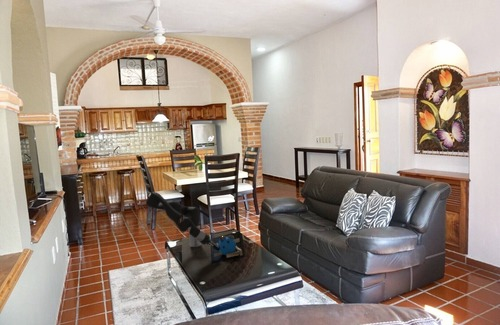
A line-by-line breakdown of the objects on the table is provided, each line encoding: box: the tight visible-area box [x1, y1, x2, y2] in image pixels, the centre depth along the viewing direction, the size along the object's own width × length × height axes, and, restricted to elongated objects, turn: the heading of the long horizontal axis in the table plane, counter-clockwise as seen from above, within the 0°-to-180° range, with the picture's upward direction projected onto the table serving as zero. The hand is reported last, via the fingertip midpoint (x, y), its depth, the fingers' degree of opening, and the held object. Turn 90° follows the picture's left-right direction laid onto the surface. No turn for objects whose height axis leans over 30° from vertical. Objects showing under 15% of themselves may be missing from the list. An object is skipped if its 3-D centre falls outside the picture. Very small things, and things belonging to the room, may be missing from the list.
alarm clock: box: [217, 234, 237, 256], centre depth 276 cm, size 13×6×15 cm, turn 115°
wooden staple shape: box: [225, 245, 243, 259], centre depth 278 cm, size 16×12×4 cm
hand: (218, 249), depth 273 cm, fingers closed
